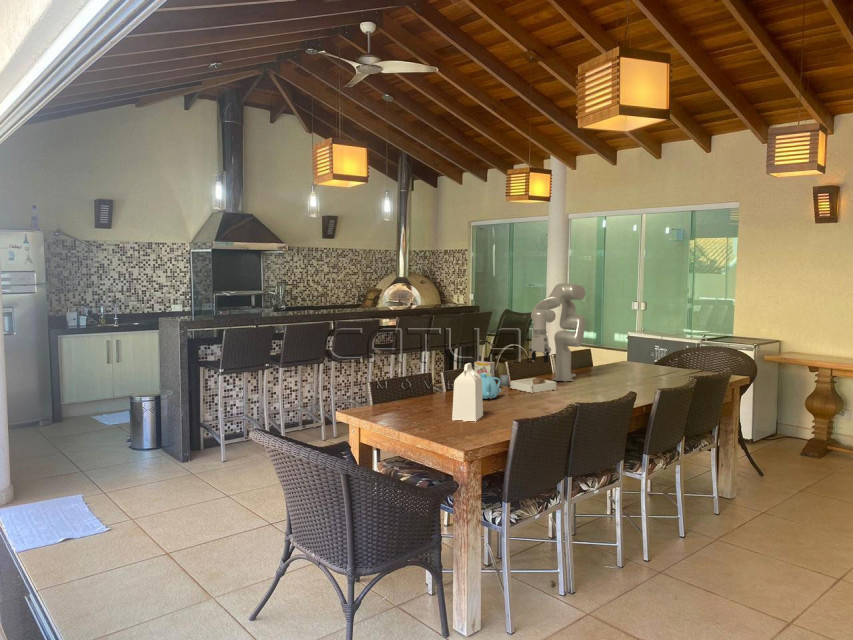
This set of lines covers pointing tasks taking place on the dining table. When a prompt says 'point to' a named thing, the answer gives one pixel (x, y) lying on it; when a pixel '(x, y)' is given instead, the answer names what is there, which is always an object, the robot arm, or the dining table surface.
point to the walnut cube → (538, 381)
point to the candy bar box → (484, 368)
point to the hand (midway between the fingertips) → (539, 361)
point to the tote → (529, 387)
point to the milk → (467, 396)
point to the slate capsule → (504, 380)
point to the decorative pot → (489, 386)
